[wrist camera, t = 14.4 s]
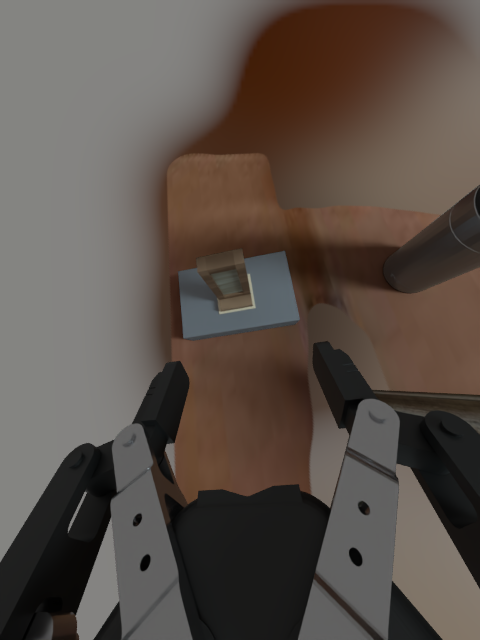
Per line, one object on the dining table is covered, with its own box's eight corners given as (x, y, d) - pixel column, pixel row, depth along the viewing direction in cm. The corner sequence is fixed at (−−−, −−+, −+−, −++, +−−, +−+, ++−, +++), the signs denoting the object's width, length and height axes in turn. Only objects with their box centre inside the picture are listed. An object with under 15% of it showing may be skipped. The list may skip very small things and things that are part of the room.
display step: (282, 263, 42) (285, 250, 37) (295, 324, 39) (299, 319, 34) (187, 281, 44) (177, 271, 39) (193, 340, 41) (183, 338, 36)
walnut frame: (252, 306, 35) (247, 277, 23) (221, 311, 36) (199, 287, 23) (247, 276, 36) (239, 234, 24) (217, 282, 37) (194, 244, 24)
